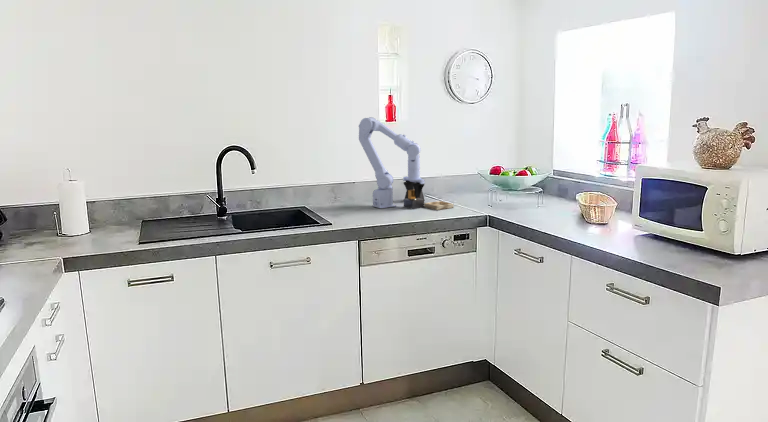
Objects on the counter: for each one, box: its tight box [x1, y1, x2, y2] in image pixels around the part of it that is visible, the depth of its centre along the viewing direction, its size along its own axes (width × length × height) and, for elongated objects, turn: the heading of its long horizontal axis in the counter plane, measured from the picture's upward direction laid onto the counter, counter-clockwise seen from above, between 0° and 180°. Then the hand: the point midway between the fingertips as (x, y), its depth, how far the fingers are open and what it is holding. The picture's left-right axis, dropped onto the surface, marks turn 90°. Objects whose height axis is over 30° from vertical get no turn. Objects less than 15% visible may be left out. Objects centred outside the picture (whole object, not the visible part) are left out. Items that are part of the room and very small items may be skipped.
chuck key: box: [408, 190, 416, 200], centre depth 278 cm, size 5×2×8 cm, turn 124°
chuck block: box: [403, 198, 425, 210], centre depth 278 cm, size 7×7×4 cm
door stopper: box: [403, 183, 426, 202], centre depth 294 cm, size 9×6×12 cm, turn 44°
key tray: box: [424, 200, 455, 211], centre depth 277 cm, size 10×10×2 cm
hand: (413, 197), depth 277 cm, fingers open, 5 cm apart
